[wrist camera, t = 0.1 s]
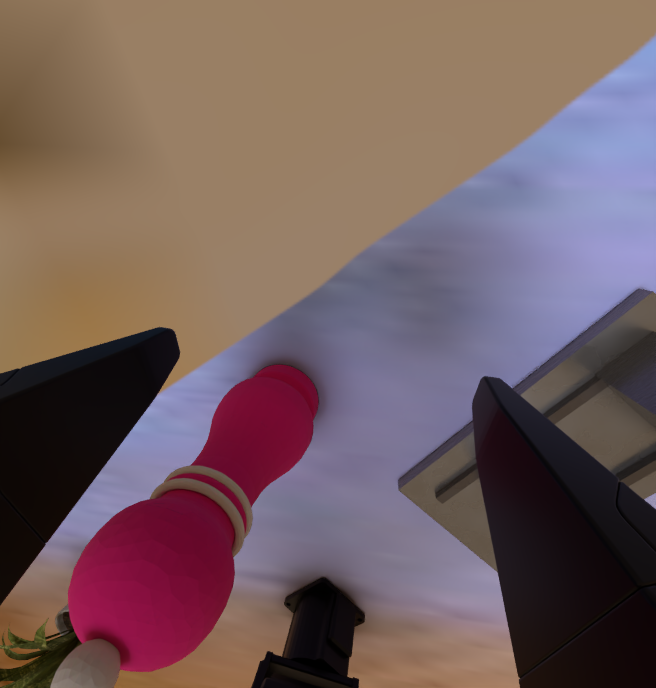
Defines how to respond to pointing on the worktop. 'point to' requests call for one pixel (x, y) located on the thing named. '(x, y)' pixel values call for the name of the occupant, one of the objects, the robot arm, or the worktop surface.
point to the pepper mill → (184, 537)
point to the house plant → (40, 672)
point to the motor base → (563, 420)
